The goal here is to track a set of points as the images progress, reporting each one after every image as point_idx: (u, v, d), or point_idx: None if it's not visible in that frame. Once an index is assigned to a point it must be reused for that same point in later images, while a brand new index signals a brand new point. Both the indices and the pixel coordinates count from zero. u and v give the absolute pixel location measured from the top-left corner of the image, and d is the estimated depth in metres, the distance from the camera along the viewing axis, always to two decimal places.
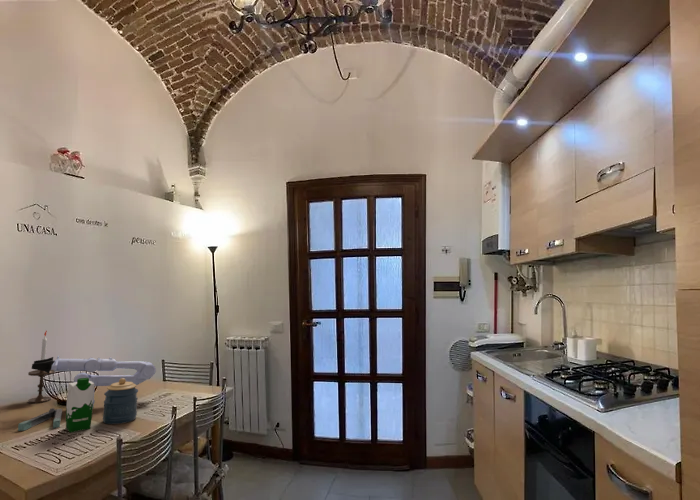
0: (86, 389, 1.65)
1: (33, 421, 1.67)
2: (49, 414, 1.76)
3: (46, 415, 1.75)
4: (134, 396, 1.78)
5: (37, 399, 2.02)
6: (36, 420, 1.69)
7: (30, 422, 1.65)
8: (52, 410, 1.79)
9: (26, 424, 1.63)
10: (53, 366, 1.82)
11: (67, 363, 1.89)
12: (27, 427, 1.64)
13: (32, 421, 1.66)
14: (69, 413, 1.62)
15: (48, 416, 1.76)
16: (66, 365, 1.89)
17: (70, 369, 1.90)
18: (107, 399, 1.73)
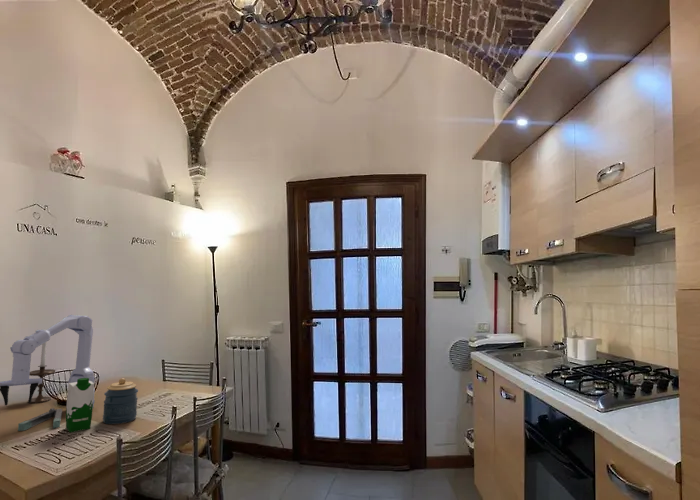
0: (86, 389, 1.65)
1: (33, 421, 1.67)
2: (49, 414, 1.76)
3: (46, 415, 1.75)
4: (134, 396, 1.78)
5: (37, 399, 2.02)
6: (36, 420, 1.69)
7: (30, 422, 1.65)
8: (52, 410, 1.79)
9: (26, 424, 1.63)
10: (41, 381, 1.71)
11: (28, 370, 1.68)
12: (27, 427, 1.64)
13: (32, 421, 1.66)
14: (69, 413, 1.62)
15: (48, 416, 1.76)
16: (29, 371, 1.69)
17: (29, 366, 1.69)
18: (107, 399, 1.73)
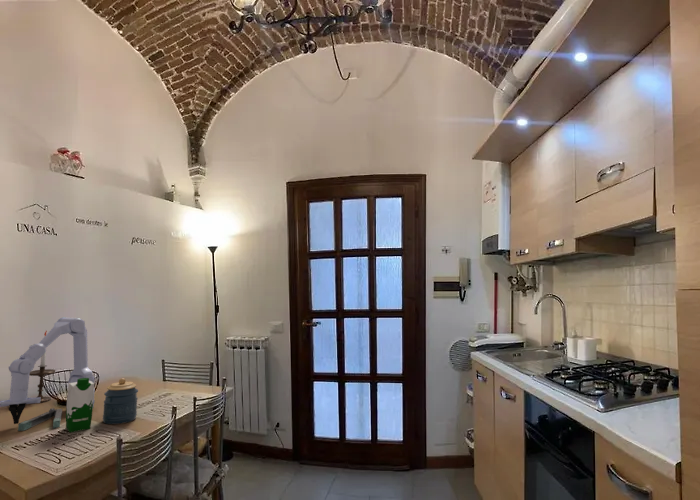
0: (86, 389, 1.65)
1: (33, 421, 1.67)
2: (49, 414, 1.76)
3: (46, 415, 1.75)
4: (134, 396, 1.78)
5: None
6: (36, 420, 1.69)
7: (30, 422, 1.65)
8: (52, 410, 1.79)
9: (26, 424, 1.63)
10: None
11: (27, 390, 1.67)
12: (27, 427, 1.64)
13: (32, 421, 1.66)
14: (69, 413, 1.62)
15: (48, 416, 1.76)
16: (27, 390, 1.68)
17: (27, 385, 1.68)
18: (107, 399, 1.73)
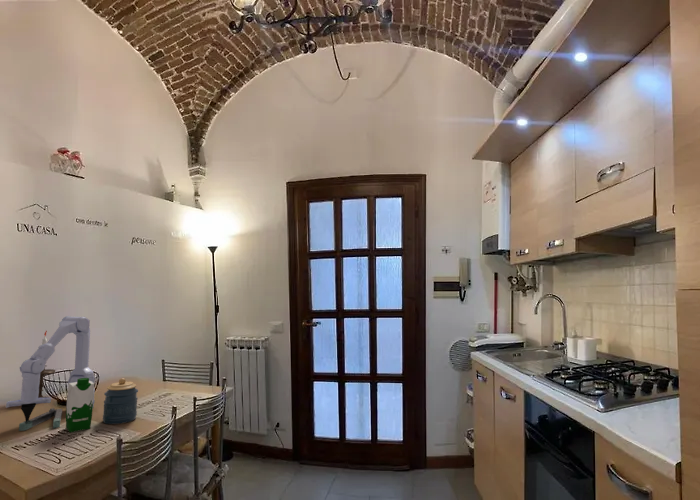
0: (86, 389, 1.65)
1: (34, 421, 1.67)
2: (49, 414, 1.76)
3: (46, 415, 1.75)
4: (134, 396, 1.78)
5: None
6: (37, 420, 1.69)
7: (31, 421, 1.65)
8: (52, 410, 1.79)
9: (27, 424, 1.63)
10: (50, 400, 1.72)
11: (37, 390, 1.69)
12: (28, 427, 1.64)
13: (33, 421, 1.66)
14: (69, 413, 1.62)
15: (48, 416, 1.76)
16: (38, 390, 1.70)
17: (38, 385, 1.70)
18: (107, 399, 1.73)
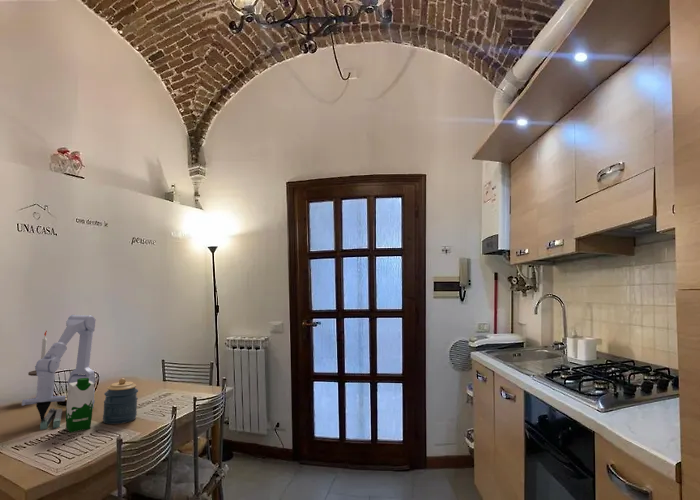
0: (86, 389, 1.65)
1: (49, 420, 1.69)
2: (53, 414, 1.77)
3: (52, 414, 1.76)
4: (134, 396, 1.78)
5: None
6: (49, 419, 1.70)
7: (48, 420, 1.67)
8: (52, 410, 1.79)
9: (47, 422, 1.65)
10: None
11: (52, 388, 1.72)
12: (47, 425, 1.66)
13: (49, 420, 1.68)
14: (69, 413, 1.62)
15: (53, 415, 1.77)
16: (53, 388, 1.73)
17: (53, 384, 1.73)
18: (107, 399, 1.73)
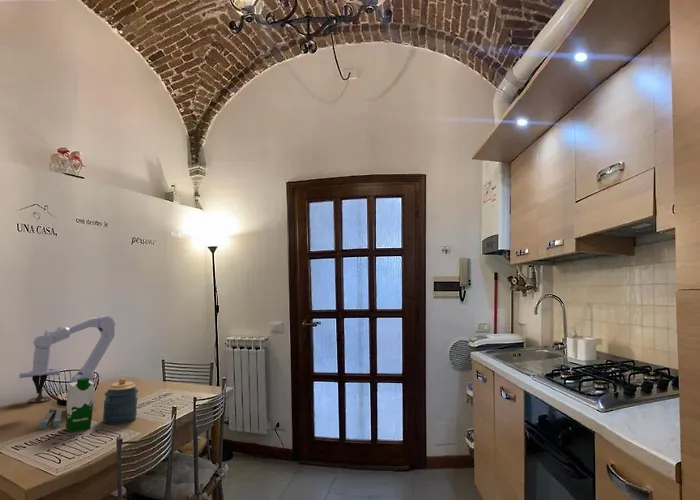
0: (86, 389, 1.65)
1: (49, 420, 1.69)
2: (53, 414, 1.77)
3: (52, 414, 1.76)
4: (134, 396, 1.78)
5: (37, 399, 2.02)
6: (50, 419, 1.70)
7: (48, 420, 1.67)
8: (52, 410, 1.79)
9: (47, 422, 1.65)
10: None
11: (48, 363, 1.83)
12: (47, 425, 1.66)
13: (49, 420, 1.68)
14: (69, 413, 1.62)
15: (53, 415, 1.77)
16: (48, 363, 1.84)
17: (47, 359, 1.82)
18: (107, 399, 1.73)
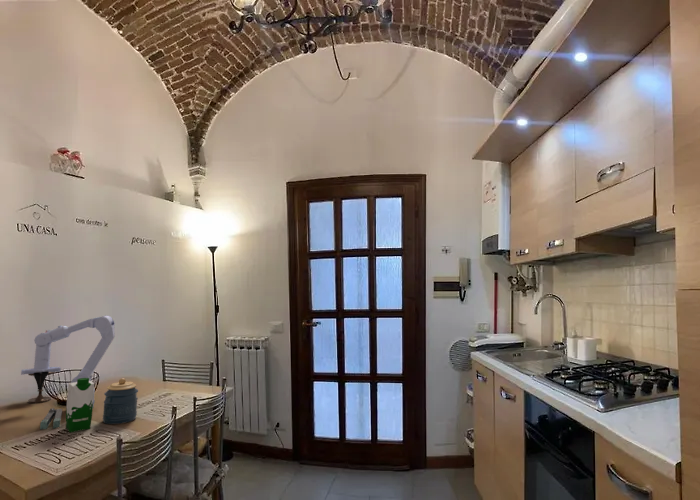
0: (86, 389, 1.65)
1: (49, 420, 1.69)
2: (53, 414, 1.77)
3: (52, 414, 1.76)
4: (134, 396, 1.78)
5: (37, 399, 2.02)
6: (50, 419, 1.70)
7: (48, 420, 1.67)
8: (52, 410, 1.79)
9: (47, 422, 1.65)
10: (60, 369, 1.92)
11: (49, 360, 1.90)
12: (47, 425, 1.66)
13: (49, 420, 1.68)
14: (69, 413, 1.62)
15: (53, 415, 1.77)
16: (49, 360, 1.91)
17: (45, 357, 1.88)
18: (107, 399, 1.73)
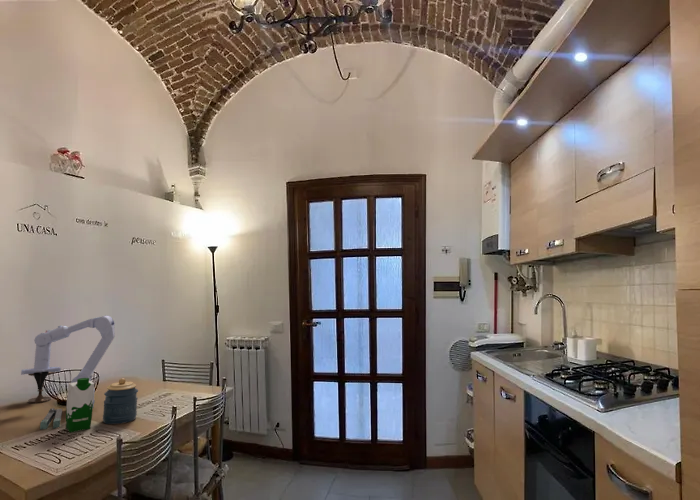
0: (86, 389, 1.65)
1: (49, 420, 1.69)
2: (53, 414, 1.77)
3: (52, 414, 1.76)
4: (134, 396, 1.78)
5: (37, 399, 2.02)
6: (50, 419, 1.70)
7: (48, 420, 1.67)
8: (52, 410, 1.79)
9: (47, 422, 1.65)
10: (60, 369, 1.92)
11: (49, 360, 1.90)
12: (47, 425, 1.66)
13: (49, 420, 1.68)
14: (69, 413, 1.62)
15: (53, 415, 1.77)
16: (49, 360, 1.91)
17: (45, 357, 1.88)
18: (107, 399, 1.73)
